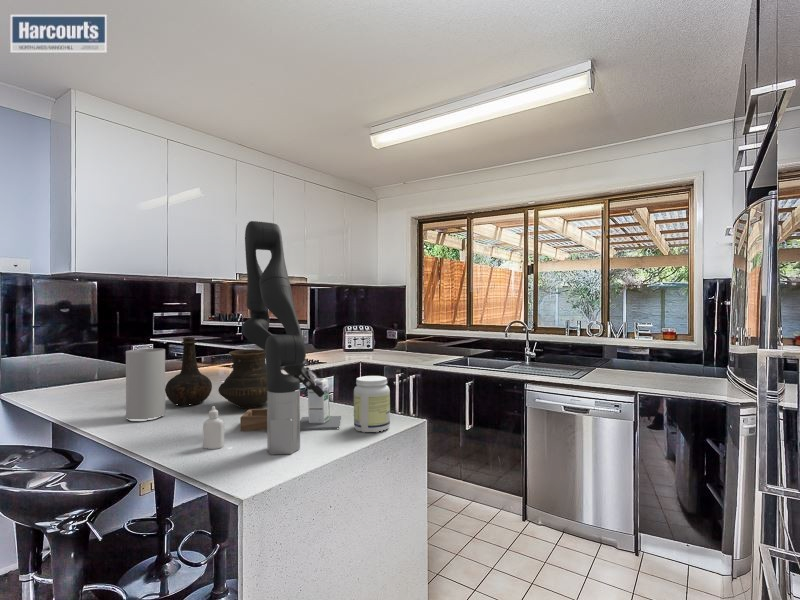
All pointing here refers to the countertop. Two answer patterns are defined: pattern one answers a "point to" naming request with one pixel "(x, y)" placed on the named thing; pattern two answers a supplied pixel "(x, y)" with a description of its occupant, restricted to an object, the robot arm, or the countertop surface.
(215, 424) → the eye dropper bottle
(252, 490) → the countertop surface
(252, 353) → the ceramic pot
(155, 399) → the cylinder vase
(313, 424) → the grey flat block
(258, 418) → the walnut collar
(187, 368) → the brown bulbous vase
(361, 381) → the supplement tub
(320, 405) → the syrup box
